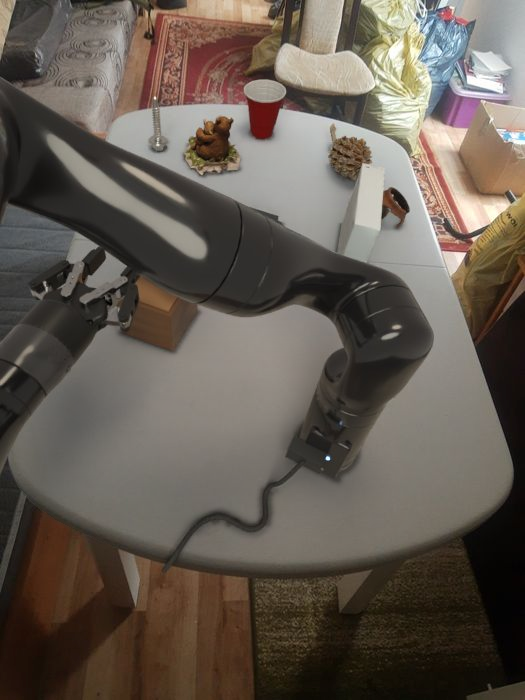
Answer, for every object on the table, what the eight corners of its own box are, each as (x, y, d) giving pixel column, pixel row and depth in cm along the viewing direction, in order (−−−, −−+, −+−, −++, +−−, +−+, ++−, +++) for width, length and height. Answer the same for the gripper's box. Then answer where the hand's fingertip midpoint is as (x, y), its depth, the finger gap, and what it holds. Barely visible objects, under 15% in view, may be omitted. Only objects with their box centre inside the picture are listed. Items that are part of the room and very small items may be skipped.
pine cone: (374, 189, 120) (387, 152, 112) (340, 193, 117) (350, 156, 109) (338, 142, 132) (347, 106, 124) (306, 145, 129) (313, 108, 122)
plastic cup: (232, 129, 131) (235, 83, 121) (264, 120, 135) (268, 75, 126) (256, 148, 126) (261, 102, 116) (288, 138, 130) (295, 93, 121)
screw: (158, 155, 119) (144, 148, 121) (172, 148, 122) (158, 141, 123) (154, 102, 109) (139, 95, 110) (169, 96, 111) (154, 88, 113)
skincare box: (357, 293, 97) (381, 230, 84) (331, 287, 97) (350, 223, 84) (364, 229, 110) (386, 166, 97) (341, 224, 110) (359, 161, 97)
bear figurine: (229, 140, 127) (232, 92, 117) (245, 172, 119) (250, 124, 109) (178, 143, 123) (176, 95, 114) (191, 177, 115) (190, 128, 105)
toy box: (173, 351, 83) (170, 316, 76) (121, 332, 85) (114, 296, 77) (197, 312, 89) (197, 276, 82) (148, 295, 91) (144, 258, 83)
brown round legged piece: (366, 202, 117) (392, 179, 111) (390, 232, 118) (417, 210, 112) (348, 215, 108) (376, 190, 103) (375, 247, 109) (404, 224, 103)
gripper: (92, 350, 51) (166, 252, 61) (-24, 307, 52) (67, 219, 63) (103, 388, 57) (169, 294, 67) (-1, 348, 58) (78, 262, 69)
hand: (119, 258), depth 65 cm, fingers open, 4 cm apart
